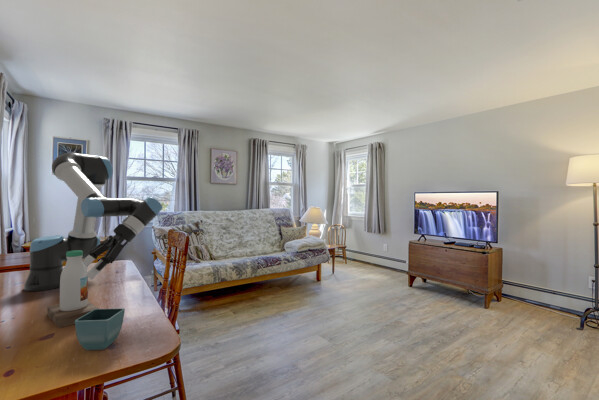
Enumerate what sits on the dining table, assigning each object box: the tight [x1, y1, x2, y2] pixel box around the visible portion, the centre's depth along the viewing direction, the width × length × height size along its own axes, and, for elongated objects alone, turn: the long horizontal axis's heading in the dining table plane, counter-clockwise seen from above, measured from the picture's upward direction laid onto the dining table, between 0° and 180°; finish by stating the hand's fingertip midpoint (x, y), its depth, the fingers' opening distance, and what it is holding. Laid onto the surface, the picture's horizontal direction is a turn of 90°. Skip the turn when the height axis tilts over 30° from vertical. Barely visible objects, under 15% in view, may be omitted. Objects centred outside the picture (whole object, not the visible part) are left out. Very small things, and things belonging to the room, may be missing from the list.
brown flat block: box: [46, 300, 100, 329], centre depth 100 cm, size 16×11×3 cm
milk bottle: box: [59, 250, 89, 311], centre depth 100 cm, size 8×8×20 cm
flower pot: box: [74, 307, 126, 351], centre depth 80 cm, size 9×9×9 cm
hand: (82, 274), depth 101 cm, fingers open, 13 cm apart
